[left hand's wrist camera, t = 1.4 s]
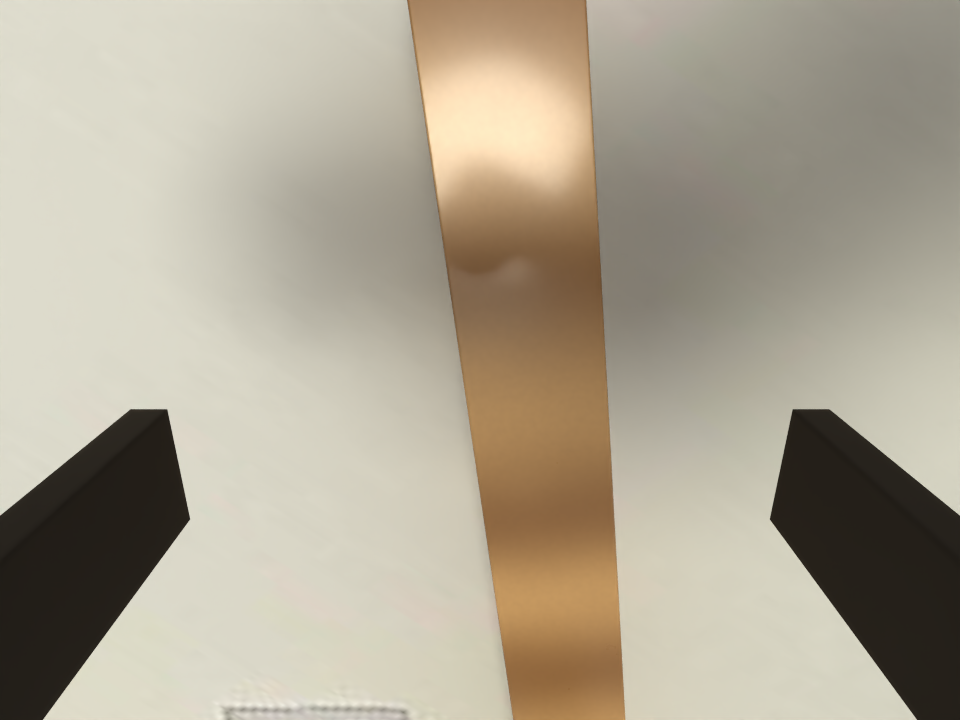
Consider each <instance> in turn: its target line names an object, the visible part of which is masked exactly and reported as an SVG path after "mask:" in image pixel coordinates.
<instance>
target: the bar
mask: <svg viewBox="0 0 960 720" xmlns="http://www.w3.org/2000/svg"><path fill="white" fill-rule="evenodd" d="M407 2H408V9H409V16H410V23H411V29H412V36H413V43H414V50H415V57H416V63H417V70H418V77H419V84H420V90H421V97H422V104H423V111H424V118H425V124H426V131H427V138H428V145H429V151H430V158H431V165H432V172H433V178H434V185H435V192H436V199H437V206H438V212H439V219H440V226H441V233H442V239H443V246H444V253H445V260H446V267H447V273H448V280H449V287H450V294H451V300H452V307H453V314H454V321H455V328H456V334H457V341H458V348H459V355H460V361H461V368H462V375H463V382H464V388H465V395H466V402H467V409H468V416H469V422H470V429H471V436H472V443H473V449H474V456H475V463H476V470H477V477H478V483H479V490H480V497H481V504H482V510H483V517H484V524H485V531H486V537H487V544H488V551H489V558H490V565H491V571H492V578H493V585H494V592H495V598H496V605H497V612H498V619H499V626H500V632H501V639H502V646H503V653H504V659H505V666H506V673H507V680H508V687H509V693H510V700H511V707H512V714H513V720H625V705H624V687H623V668H622V650H621V632H620V613H619V595H618V576H617V558H616V540H615V521H614V503H613V485H612V466H611V448H610V430H609V411H608V393H607V374H606V356H605V338H604V319H603V301H602V283H601V264H600V246H599V227H598V209H597V191H596V172H595V154H594V136H593V117H592V99H591V80H590V62H589V44H588V25H587V7H586V0H407Z"/></svg>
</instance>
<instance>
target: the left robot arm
mask: <svg viewBox="0 0 960 720" xmlns="http://www.w3.org/2000/svg"><path fill="white" fill-rule="evenodd" d="M189 520H190V517H189V512H188V507H187V502H186V497H185V493H184V488H183V483H182V478H181V473H180V469H179V464H178V459H177V454H176V449H175V445H174V440H173V435H172V430H171V425H170V421H169V416H168V411H167V409H131V410H129V411H128V412H127V413H126V414H124V415H123V416H122V417H121V418H120V419H118V420H117V421H116V422H115V423H113V424H112V425H111V426H110V427H108V428H107V429H106V430H105V431H104V432H102V433H101V434H100V435H99V436H97V437H96V438H95V439H94V440H93V441H91V442H90V443H89V444H88V445H86V446H85V447H84V448H83V449H81V450H80V451H79V452H78V453H77V454H75V455H74V456H73V457H72V458H70V459H69V460H68V461H67V462H66V463H64V464H63V465H62V466H61V467H59V468H58V469H57V470H56V471H54V472H53V473H52V474H51V475H50V476H48V477H47V478H46V479H45V480H43V481H42V482H41V483H40V484H39V485H37V486H36V487H35V488H34V489H32V490H31V491H30V492H29V493H28V494H26V495H25V496H24V497H23V498H21V499H20V500H19V501H18V502H16V503H15V504H14V505H13V506H12V507H10V508H9V509H8V510H7V511H5V512H4V513H3V514H2V515H1V516H0V720H43V719H44V717H45V716H46V715H47V713H48V712H49V711H50V709H51V708H52V707H53V705H54V704H55V702H56V701H57V700H58V698H59V697H60V696H61V694H62V693H63V692H64V690H65V689H66V687H67V686H68V685H69V683H70V682H71V681H72V679H73V678H74V677H75V675H76V674H77V673H78V671H79V670H80V668H81V667H82V666H83V664H84V663H85V662H86V660H87V659H88V658H89V656H90V655H91V653H92V652H93V651H94V649H95V648H96V647H97V645H98V644H99V643H100V641H101V640H102V638H103V637H104V636H105V634H106V633H107V632H108V630H109V629H110V628H111V626H112V625H113V624H114V622H115V621H116V619H117V618H118V617H119V615H120V614H121V613H122V611H123V610H124V609H125V607H126V606H127V604H128V603H129V602H130V600H131V599H132V598H133V596H134V595H135V594H136V592H137V591H138V589H139V588H140V587H141V585H142V584H143V583H144V581H145V580H146V579H147V577H148V576H149V575H150V573H151V572H152V570H153V569H154V568H155V566H156V565H157V564H158V562H159V561H160V560H161V558H162V557H163V555H164V554H165V553H166V551H167V550H168V549H169V547H170V546H171V545H172V543H173V542H174V540H175V539H176V538H177V536H178V535H179V534H180V532H181V531H182V530H183V528H184V527H185V526H186V524H187V523H188V521H189ZM770 520H771V521H772V523H773V524H774V526H775V527H776V528H777V530H778V531H779V532H780V534H781V535H782V536H783V538H784V539H785V540H786V542H787V543H788V545H789V546H790V547H791V549H792V550H793V551H794V553H795V554H796V555H797V557H798V558H799V560H800V561H801V562H802V564H803V565H804V566H805V568H806V569H807V570H808V572H809V573H810V575H811V576H812V577H813V579H814V580H815V581H816V583H817V584H818V585H819V587H820V588H821V589H822V591H823V592H824V594H825V595H826V596H827V598H828V599H829V600H830V602H831V603H832V604H833V606H834V607H835V609H836V610H837V611H838V613H839V614H840V615H841V617H842V618H843V619H844V621H845V622H846V624H847V625H848V626H849V628H850V629H851V630H852V632H853V633H854V634H855V636H856V637H857V638H858V640H859V641H860V643H861V644H862V645H863V647H864V648H865V649H866V651H867V652H868V653H869V655H870V656H871V658H872V659H873V660H874V662H875V663H876V664H877V666H878V667H879V668H880V670H881V671H882V673H883V674H884V675H885V677H886V678H887V679H888V681H889V682H890V683H891V685H892V686H893V687H894V689H895V690H896V692H897V693H898V694H899V696H900V697H901V698H902V700H903V701H904V702H905V704H906V705H907V707H908V708H909V709H910V711H911V712H912V713H913V715H914V716H915V717H916V719H917V720H960V516H959V515H958V514H957V513H956V512H955V511H953V510H952V509H951V508H950V507H948V506H947V505H946V504H945V503H944V502H942V501H941V500H940V499H939V498H937V497H936V496H935V495H934V494H932V493H931V492H930V491H929V490H928V489H926V488H925V487H924V486H923V485H921V484H920V483H919V482H918V481H917V480H915V479H914V478H913V477H912V476H910V475H909V474H908V473H907V472H906V471H904V470H903V469H902V468H901V467H899V466H898V465H897V464H896V463H894V462H893V461H892V460H891V459H890V458H888V457H887V456H886V455H885V454H883V453H882V452H881V451H880V450H879V449H877V448H876V447H875V446H874V445H872V444H871V443H870V442H869V441H867V440H866V439H865V438H864V437H863V436H861V435H860V434H859V433H858V432H856V431H855V430H854V429H853V428H852V427H850V426H849V425H848V424H847V423H845V422H844V421H843V420H842V419H840V418H839V417H838V416H837V415H836V414H834V413H833V412H832V411H831V410H829V409H793V411H792V416H791V421H790V425H789V430H788V435H787V440H786V445H785V449H784V454H783V459H782V464H781V469H780V473H779V478H778V483H777V488H776V493H775V497H774V502H773V507H772V512H771V517H770Z"/></svg>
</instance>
